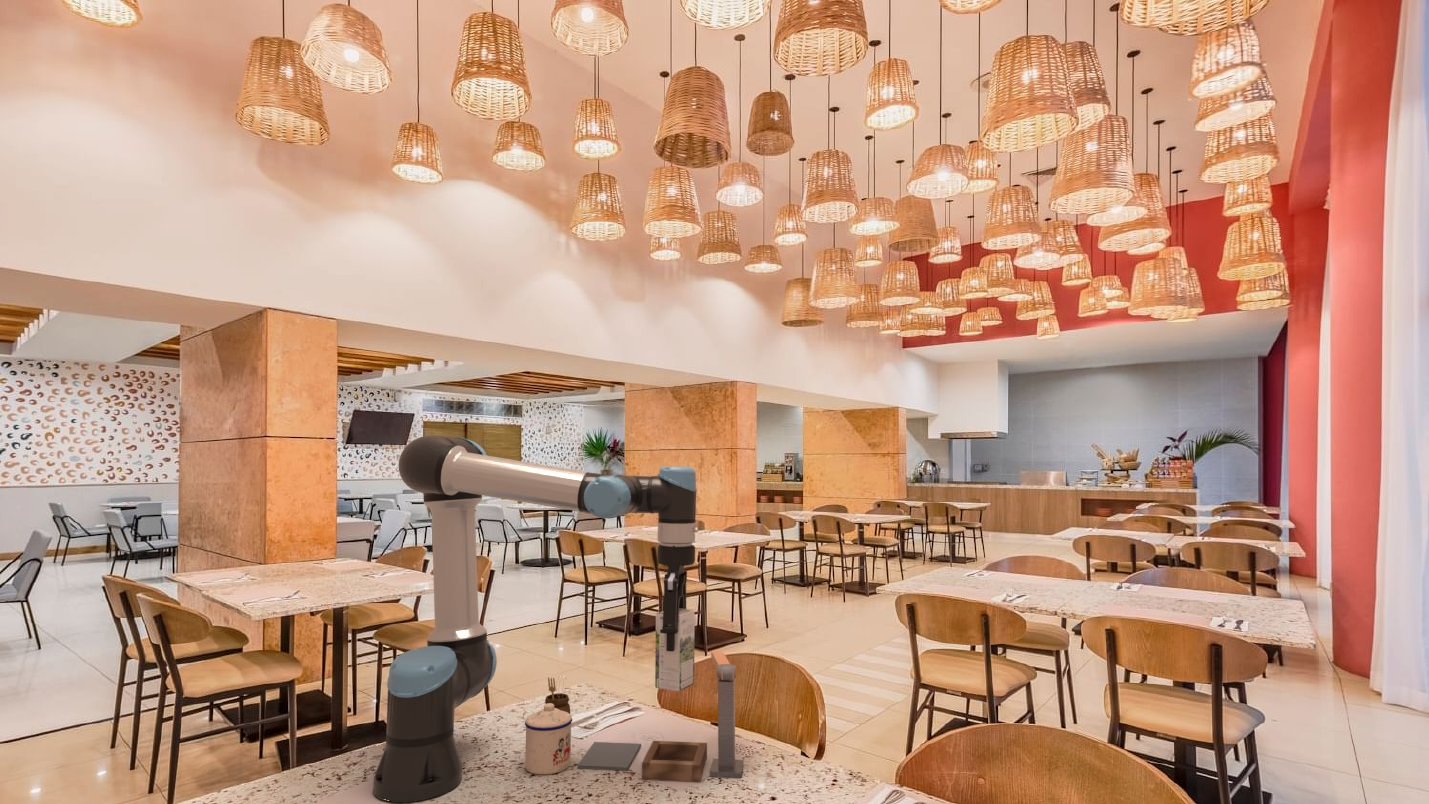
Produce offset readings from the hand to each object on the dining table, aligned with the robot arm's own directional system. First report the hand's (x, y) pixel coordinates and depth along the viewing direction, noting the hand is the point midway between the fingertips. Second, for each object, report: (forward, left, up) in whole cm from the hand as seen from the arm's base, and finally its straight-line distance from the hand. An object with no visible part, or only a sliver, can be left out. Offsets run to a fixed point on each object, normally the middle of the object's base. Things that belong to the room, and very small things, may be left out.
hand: (674, 661), depth 140 cm
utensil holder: (-30, +18, -20) cm, 40 cm away
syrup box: (0, 0, -5) cm, 5 cm away
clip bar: (+9, +6, -3) cm, 11 cm away
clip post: (+10, 0, -20) cm, 23 cm away
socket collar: (0, 0, -20) cm, 20 cm away
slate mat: (-14, +4, -20) cm, 25 cm away
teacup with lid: (-25, 0, -20) cm, 32 cm away
